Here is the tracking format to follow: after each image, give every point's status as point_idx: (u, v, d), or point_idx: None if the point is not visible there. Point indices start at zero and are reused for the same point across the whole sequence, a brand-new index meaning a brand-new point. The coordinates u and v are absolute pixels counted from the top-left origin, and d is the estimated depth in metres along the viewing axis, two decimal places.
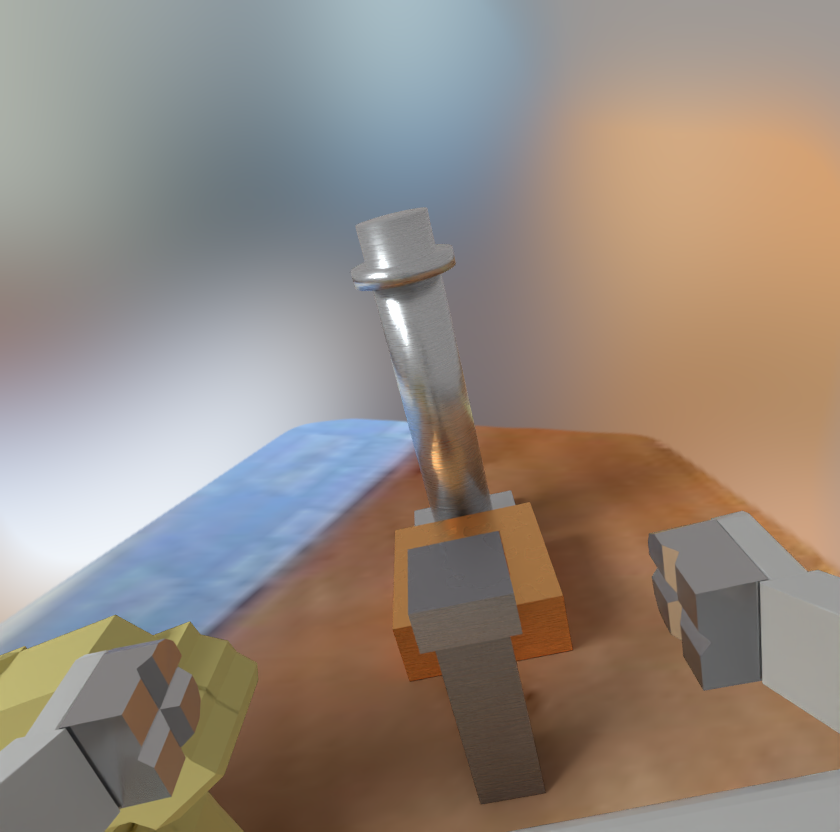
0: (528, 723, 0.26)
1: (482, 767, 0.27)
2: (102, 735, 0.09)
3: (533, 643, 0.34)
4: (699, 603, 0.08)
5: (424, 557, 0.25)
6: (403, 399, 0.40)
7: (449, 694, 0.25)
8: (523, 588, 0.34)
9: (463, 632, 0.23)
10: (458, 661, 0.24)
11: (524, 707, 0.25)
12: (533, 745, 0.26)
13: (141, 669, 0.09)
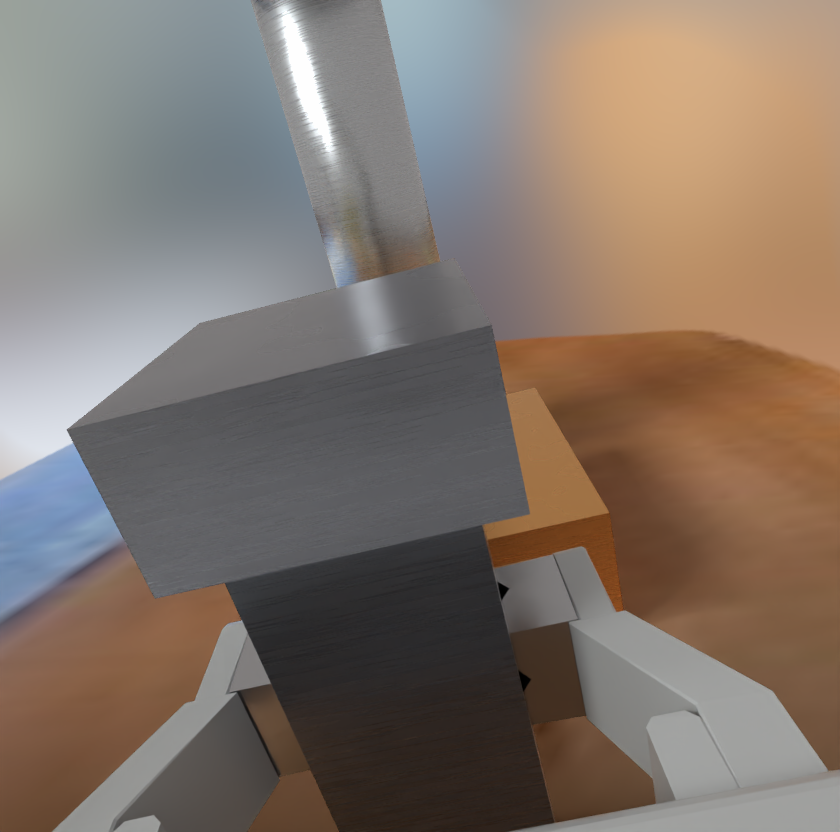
0: (549, 819, 0.09)
1: None
2: (271, 700, 0.08)
3: None
4: (515, 642, 0.08)
5: (231, 324, 0.08)
6: (314, 205, 0.23)
7: (301, 738, 0.08)
8: None
9: (303, 509, 0.06)
10: (316, 631, 0.07)
11: (537, 773, 0.08)
12: None
13: None
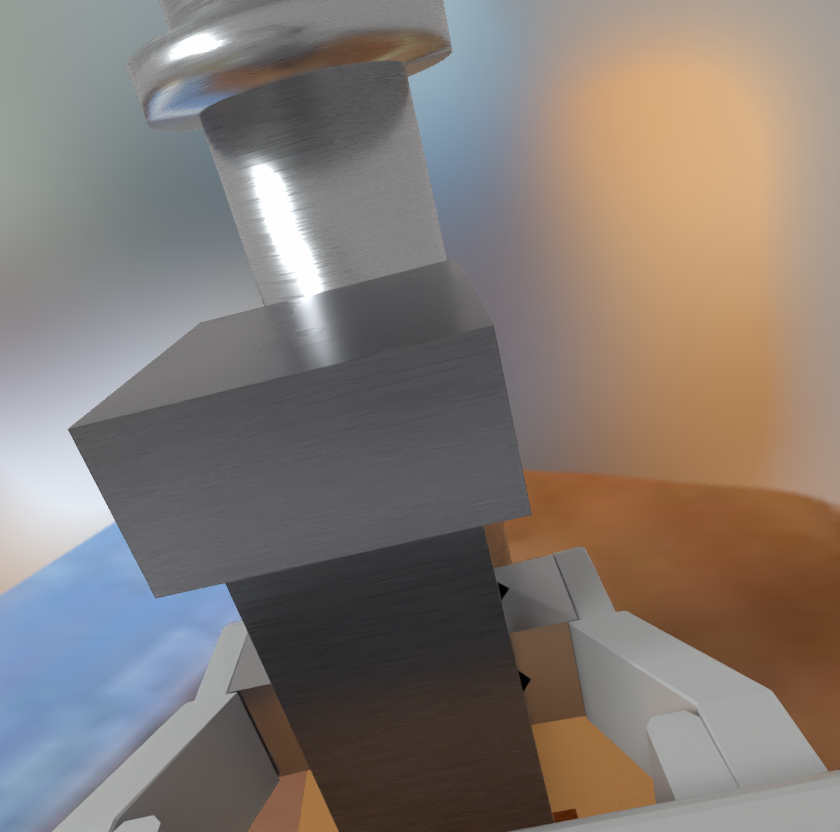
0: (549, 819, 0.09)
1: None
2: (271, 700, 0.08)
3: None
4: (515, 642, 0.08)
5: (232, 324, 0.08)
6: None
7: (301, 738, 0.08)
8: None
9: (304, 509, 0.06)
10: (316, 631, 0.07)
11: (537, 774, 0.08)
12: None
13: None
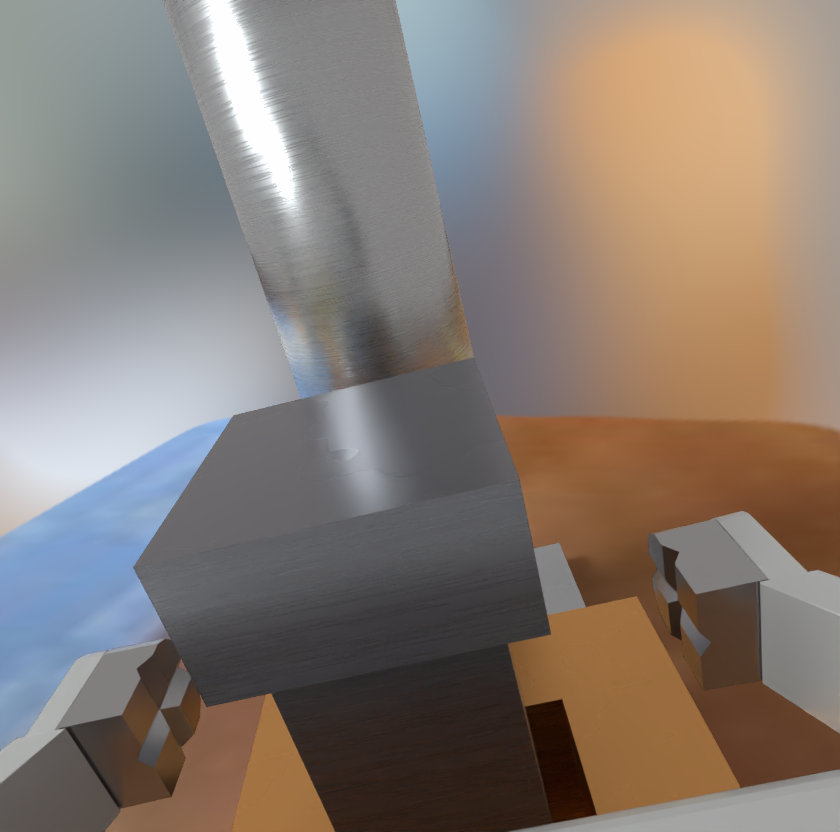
0: None
1: None
2: (102, 735, 0.09)
3: None
4: (699, 603, 0.08)
5: (266, 424, 0.09)
6: (271, 308, 0.14)
7: (333, 817, 0.08)
8: None
9: (344, 631, 0.07)
10: (350, 724, 0.08)
11: None
12: None
13: (141, 669, 0.09)
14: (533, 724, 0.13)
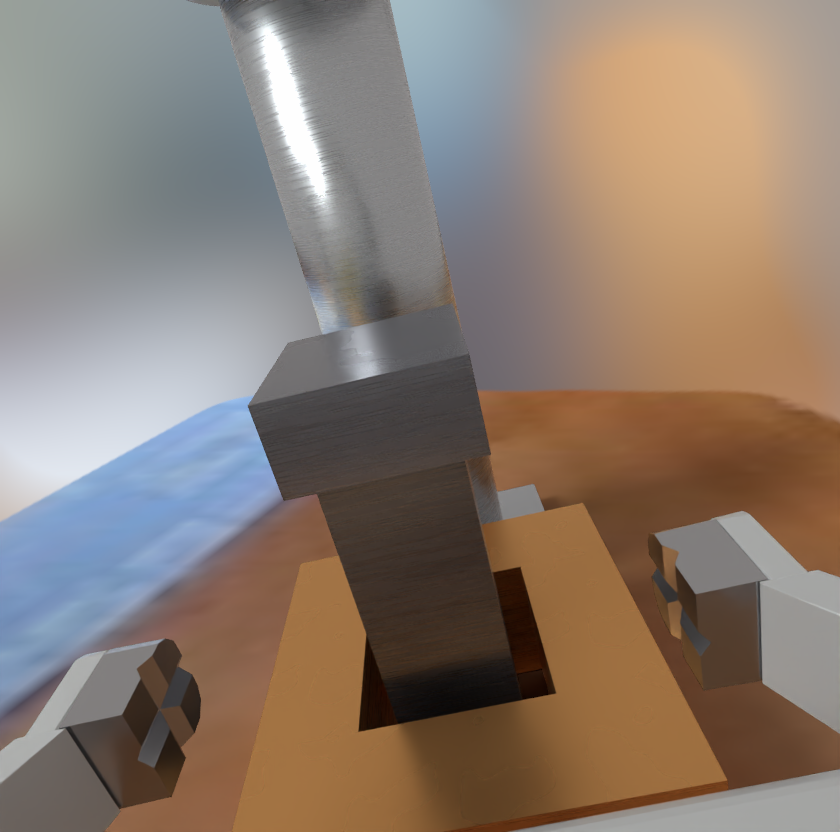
0: (508, 657, 0.14)
1: None
2: (102, 735, 0.09)
3: None
4: (699, 603, 0.08)
5: (312, 345, 0.14)
6: (306, 277, 0.18)
7: (356, 597, 0.13)
8: (599, 743, 0.12)
9: (368, 450, 0.11)
10: (369, 527, 0.12)
11: (500, 624, 0.13)
12: None
13: (141, 669, 0.09)
14: (499, 587, 0.18)
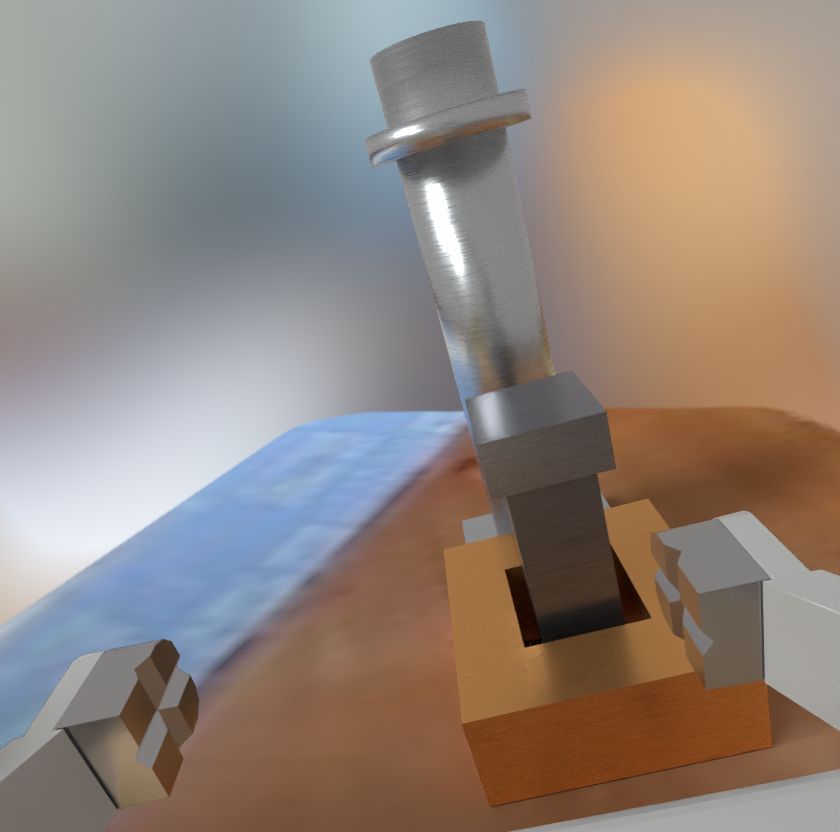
0: (618, 597, 0.21)
1: None
2: (100, 736, 0.09)
3: (704, 737, 0.20)
4: (702, 603, 0.08)
5: (486, 401, 0.21)
6: (451, 346, 0.26)
7: (524, 560, 0.21)
8: None
9: (543, 468, 0.19)
10: (536, 515, 0.20)
11: (614, 575, 0.21)
12: None
13: (139, 670, 0.09)
14: None
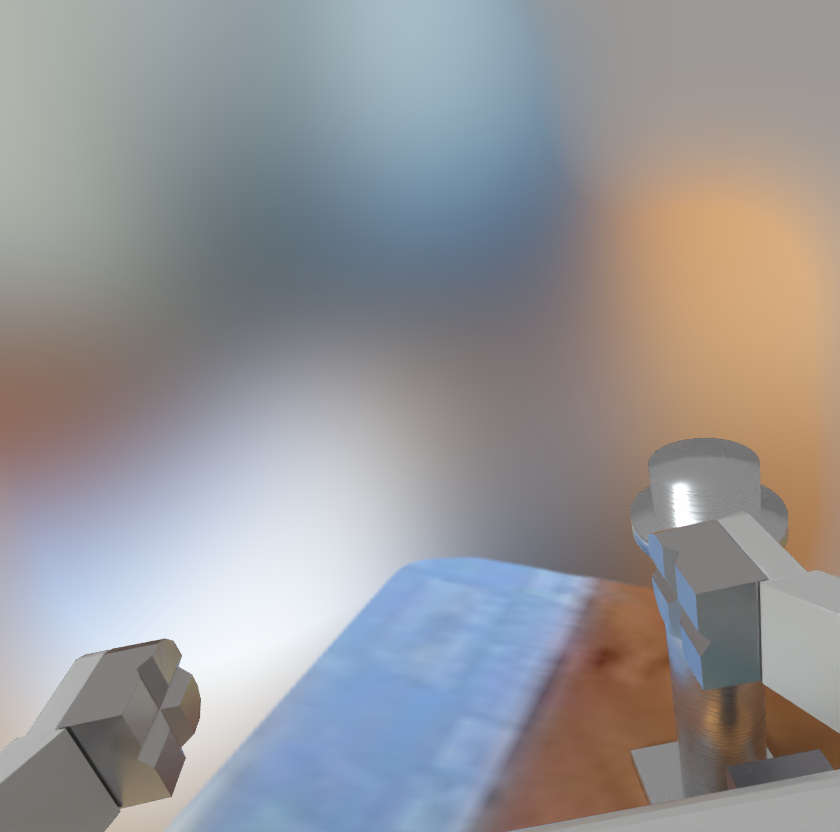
0: None
1: None
2: (102, 735, 0.09)
3: None
4: (699, 603, 0.08)
5: (752, 780, 0.26)
6: (682, 674, 0.30)
7: None
8: None
9: None
10: None
11: None
12: None
13: (141, 669, 0.09)
14: None
